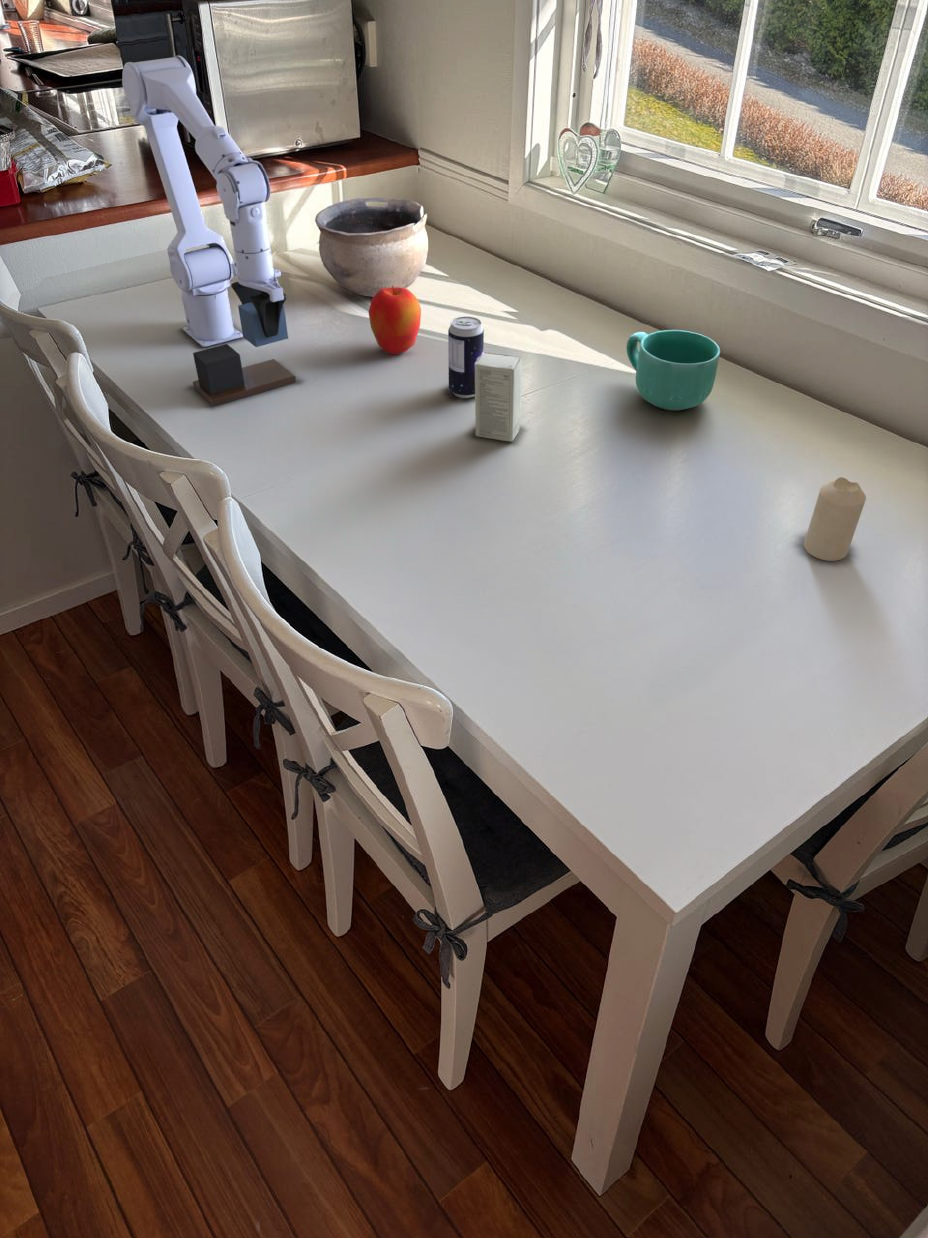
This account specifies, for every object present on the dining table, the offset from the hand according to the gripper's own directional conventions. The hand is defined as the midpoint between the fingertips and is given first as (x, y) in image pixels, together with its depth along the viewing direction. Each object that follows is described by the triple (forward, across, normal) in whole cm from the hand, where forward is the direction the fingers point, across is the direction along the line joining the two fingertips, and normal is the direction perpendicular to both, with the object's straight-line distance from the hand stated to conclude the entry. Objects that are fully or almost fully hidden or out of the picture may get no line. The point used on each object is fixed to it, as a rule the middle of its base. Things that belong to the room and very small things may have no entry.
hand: (264, 329), depth 155 cm
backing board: (+8, -2, +6) cm, 10 cm away
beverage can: (+8, -26, -23) cm, 35 cm away
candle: (+8, -89, -36) cm, 96 cm away
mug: (+8, -46, -49) cm, 68 cm away
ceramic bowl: (+8, +21, -34) cm, 41 cm away
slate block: (+1, 0, 0) cm, 1 cm away
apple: (+8, -6, -22) cm, 24 cm away
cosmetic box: (+8, -40, -19) cm, 45 cm away
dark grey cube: (+6, -2, +10) cm, 12 cm away
